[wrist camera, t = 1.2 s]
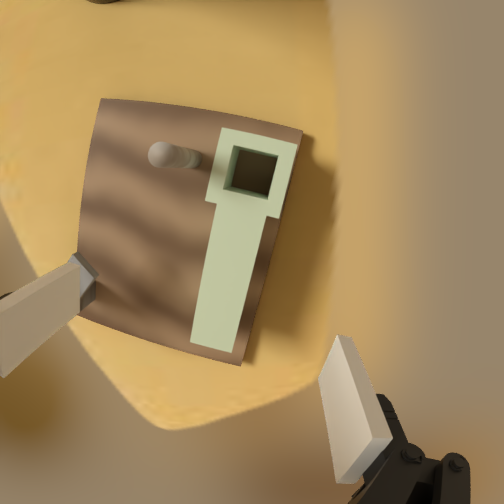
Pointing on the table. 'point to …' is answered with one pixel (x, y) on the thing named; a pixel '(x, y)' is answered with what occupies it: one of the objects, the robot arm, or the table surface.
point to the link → (235, 235)
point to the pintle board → (163, 219)
